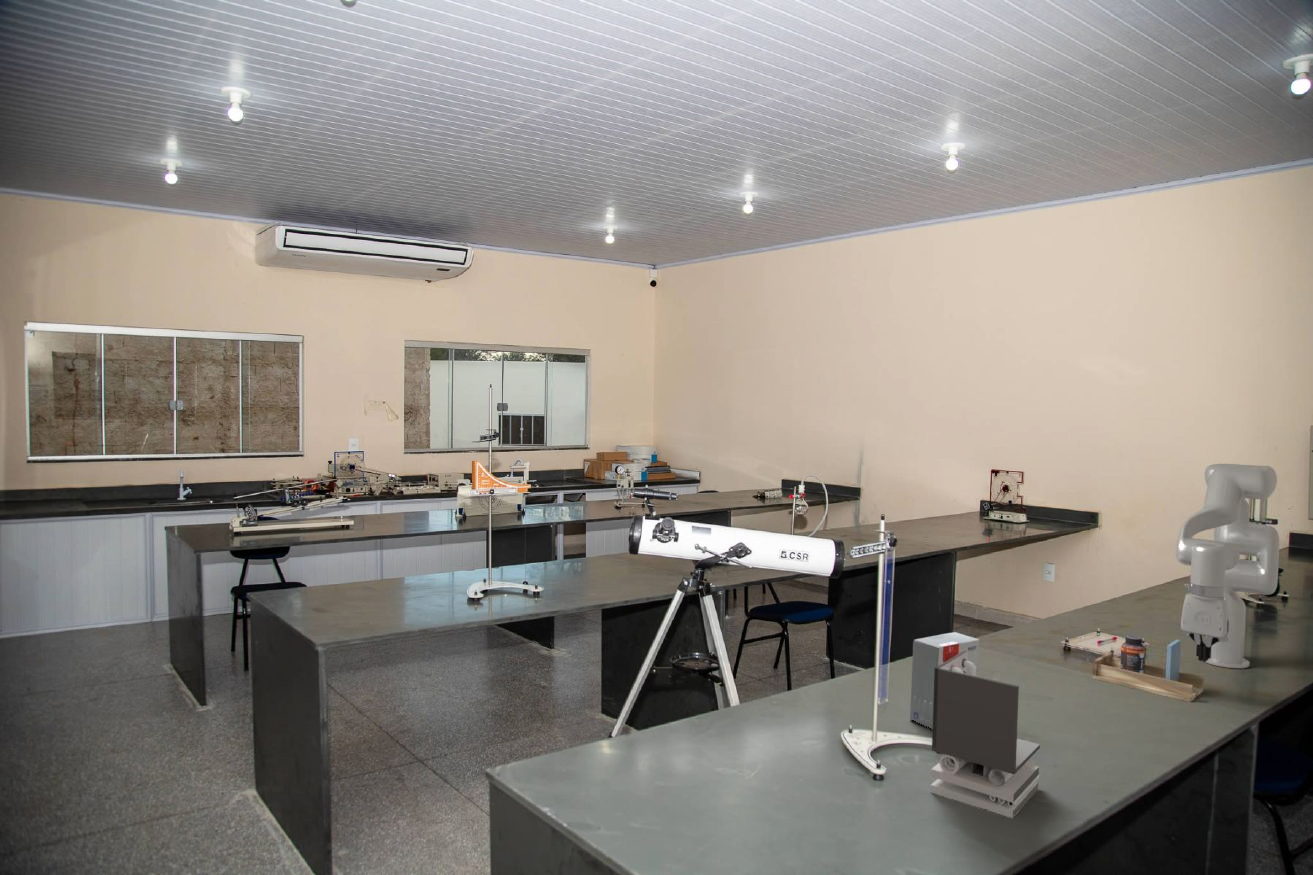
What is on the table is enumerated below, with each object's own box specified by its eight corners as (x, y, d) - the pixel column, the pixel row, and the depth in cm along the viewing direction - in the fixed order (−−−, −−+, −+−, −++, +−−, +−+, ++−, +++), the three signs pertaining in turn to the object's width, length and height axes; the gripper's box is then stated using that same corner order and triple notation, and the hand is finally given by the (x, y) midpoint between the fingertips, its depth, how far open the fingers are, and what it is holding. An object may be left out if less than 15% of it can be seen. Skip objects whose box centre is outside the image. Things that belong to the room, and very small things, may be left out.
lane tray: (1108, 668, 245) (1109, 651, 245) (1204, 690, 228) (1205, 672, 227) (1092, 678, 236) (1093, 660, 236) (1190, 701, 219) (1191, 683, 218)
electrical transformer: (930, 792, 166) (934, 668, 165) (966, 761, 181) (970, 646, 180) (1012, 819, 156) (1017, 687, 155) (1043, 783, 171) (1047, 662, 169)
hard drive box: (934, 731, 197) (936, 647, 196) (908, 720, 203) (911, 639, 202) (976, 718, 205) (979, 638, 204) (950, 708, 212) (953, 630, 210)
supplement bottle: (1148, 680, 232) (1150, 640, 231) (1125, 679, 232) (1127, 639, 232) (1138, 673, 237) (1140, 634, 237) (1116, 672, 238) (1118, 633, 238)
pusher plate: (1174, 681, 231) (1176, 639, 230) (1178, 682, 230) (1180, 640, 229) (1165, 688, 225) (1167, 645, 224) (1169, 689, 224) (1171, 646, 224)
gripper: (1170, 588, 224) (1167, 656, 225) (1236, 598, 213) (1233, 669, 214) (1178, 584, 229) (1175, 650, 230) (1244, 594, 218) (1240, 664, 219)
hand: (1203, 659), depth 222 cm, fingers closed
